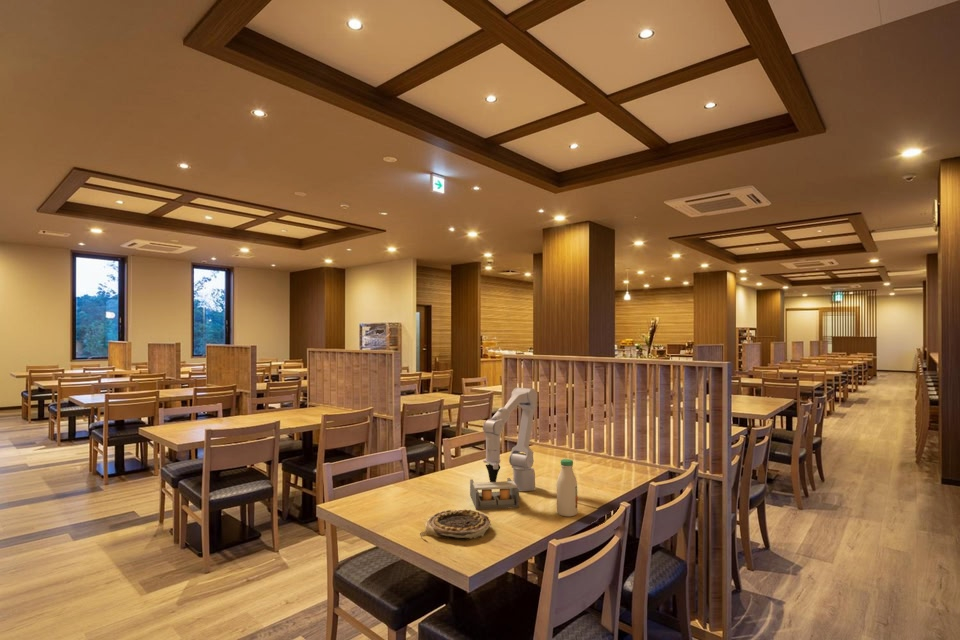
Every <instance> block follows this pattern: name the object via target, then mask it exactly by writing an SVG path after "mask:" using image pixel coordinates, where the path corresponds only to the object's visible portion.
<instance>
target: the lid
mask: <svg viewBox="0 0 960 640" xmlns="http://www.w3.org/2000/svg"><path fill="white" fill-rule="evenodd" d="M473 486H474V488H475V490H478V491H479V490H480V491H482V490H487V489H491V490H500V489H510V488H517V485H516V484H515V483H514V481H513V480H512V481H496V482H490V481H481V482H474V483H473Z"/></svg>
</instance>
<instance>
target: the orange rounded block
mask: <svg viewBox="0 0 960 640" xmlns="http://www.w3.org/2000/svg"><path fill="white" fill-rule="evenodd" d="M499 492H500V500H506V499H510V489H499Z"/></svg>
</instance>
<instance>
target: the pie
mask: <svg viewBox="0 0 960 640" xmlns="http://www.w3.org/2000/svg"><path fill="white" fill-rule="evenodd" d="M489 518H490V517H489V516H488V515H486V514H484V513H480V512H478V511H477V510H476V511H475V510H471V509H458V510H456V509H455V510H451V509H448V510H442V511H440V512H438V513H435V514H434V515H432V516H430V517H429V518H428V519H427V520H426V521H425V526H424V527H425V528H424V529H425V531H420V533H419V534H420V535H419V536H420V537H421V539H422V540H424V541H426V542H427V540H426V539H424V536H425V537H426V536H427V535H430V536H434V537H437V538H443V539H444V538H446V539H450V540H460V541H461V540H463V541H470V540H475V539H476V538H482V537H484V536H485V533H486V532H487V530H488V529H489V528H490V525H491V520H490V519H489Z"/></svg>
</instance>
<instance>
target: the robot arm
mask: <svg viewBox="0 0 960 640" xmlns="http://www.w3.org/2000/svg"><path fill="white" fill-rule="evenodd" d="M537 401H538V393H537V391H536V389H535V388H527V387H526V388H525V387H518V386H517V387H514V389H512V391H511V396H510V398H509V399H508V401H507V402H506V404H505V405H504V407H500V408H498V410H497V411H496V412H495V413H494V415H493V416H491V418H489V419H487V420H485V421H484V423H483V426H482V430H483V433H484V438H485V459H483V460H482V462H483V463H486V464H485V468H486V469H487V472H488V479H489V482H497V478H498V473H499V471H500V470H501V466H500V463H501V447H500V446H501V445H500V444H501V441H500V440H501V436H500V435H501V434H502V432H504V431H503V429H504V426H505V424H506V423H507V422H508V421H509V419H510V417H511V413H512V412H513V410H514V409H515V408H517V407H518V406H519V407H520V408H521V410H522V411H521V417H520V424H519V429H518V430H519V431H518V437H517V443H516V445H514V446H513V447H512V448H511V451H510V453H509V456H508V463H509V465H510V466H511V468H512V481H514V483H515V484H516V485H517V488H518V490H519V492H527V491H529V492H531V491H536V471H535V469H534V468H533V466H534V461H535V459H534V451H533V450H532V448H530V443H531V435H532V428H533V421H534V416H535V409H536V408H537V403H538V402H537Z"/></svg>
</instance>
